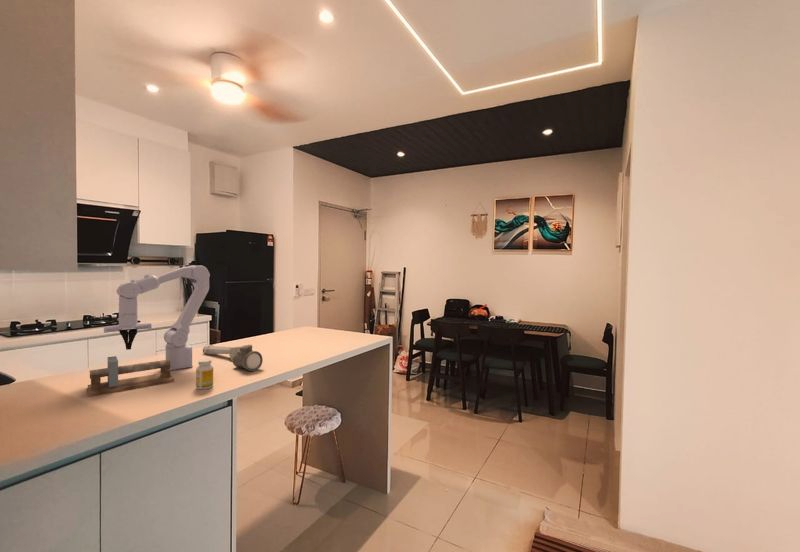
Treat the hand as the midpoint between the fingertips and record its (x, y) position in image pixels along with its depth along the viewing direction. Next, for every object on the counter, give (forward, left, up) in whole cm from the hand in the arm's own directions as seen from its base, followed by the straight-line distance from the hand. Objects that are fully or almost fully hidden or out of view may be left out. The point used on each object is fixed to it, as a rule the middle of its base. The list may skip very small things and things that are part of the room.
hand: (128, 349), depth 138 cm
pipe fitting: (-38, +18, -11) cm, 43 cm away
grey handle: (-36, -8, -11) cm, 39 cm away
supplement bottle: (-19, +32, -11) cm, 39 cm away
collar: (+6, +13, -9) cm, 17 cm away
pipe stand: (0, +13, -10) cm, 17 cm away
